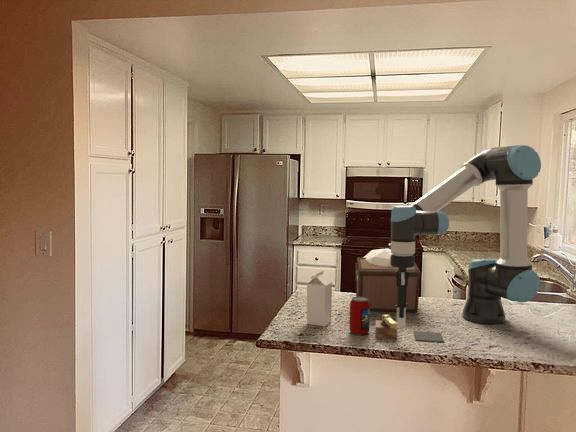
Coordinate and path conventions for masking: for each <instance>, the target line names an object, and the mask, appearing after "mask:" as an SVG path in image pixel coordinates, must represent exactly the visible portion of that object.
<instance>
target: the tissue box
mask: <svg viewBox="0 0 576 432" xmlns="http://www.w3.org/2000/svg"><path fill="white" fill-rule="evenodd" d="M391 254H393V253H391V248H379V249H378V248H377V249H372V250H370V251H369V252H368V253H367V254H366V255H365V256H363V257H359V256H358V257H357V258H356V271H355V273H356V279H355V297H366V298H368V301H369V303H370V312H397V307H395V305H397V284H396V271H398V267H393V266H391V265H390V256H391ZM406 272H408V273H409V278H408V286H407V294H406V303H407V304H408V305H407V306H406V313H407V312H408V313H409V312H410V313H411V312H413V313H418V310H419V299H420V298H419V297H420V287H421V271H420V268H419V267H418V265H417V263H416V262H414V267H412V268H406Z"/></svg>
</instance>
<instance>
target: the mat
mask: <svg viewBox="0 0 576 432" xmlns="http://www.w3.org/2000/svg"><path fill="white" fill-rule="evenodd" d="M413 335H414V339H415V341H417V342H430V343H431V342H432V343H443V344H444V343H445V340H444V337H443V335H442V332H434V331H419V330H414V331H413Z"/></svg>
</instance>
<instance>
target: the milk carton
mask: <svg viewBox="0 0 576 432" xmlns="http://www.w3.org/2000/svg"><path fill="white" fill-rule="evenodd" d="M310 279H311V280H310V281H309V282H307V284H306V325H312V326H318V327H319V326H320V327H326V326H328V325H329V324H330V323H332V311H333V310H332V306H333V304H332V300H333V299H332V297H333V295H332V293H333V290H332V288H333V282H332V280H330V278H329V277H327V275H325V273H324V270H320V271H319V272H317V273H315V274H314V275H312V276H311V277H310Z"/></svg>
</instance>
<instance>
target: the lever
mask: <svg viewBox="0 0 576 432" xmlns="http://www.w3.org/2000/svg"><path fill="white" fill-rule="evenodd" d="M381 321H382V322H384V323H386V324H387V325H388V326H389V327H390V328H396V324H397V321H395V320H394V319H392V318H391V314H387V313H386V314H385V313H383V314H381ZM394 321H395V322H394Z"/></svg>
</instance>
